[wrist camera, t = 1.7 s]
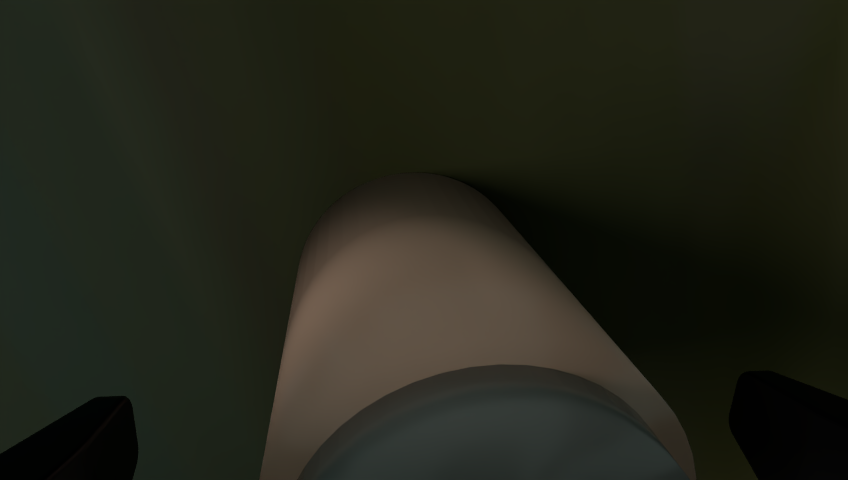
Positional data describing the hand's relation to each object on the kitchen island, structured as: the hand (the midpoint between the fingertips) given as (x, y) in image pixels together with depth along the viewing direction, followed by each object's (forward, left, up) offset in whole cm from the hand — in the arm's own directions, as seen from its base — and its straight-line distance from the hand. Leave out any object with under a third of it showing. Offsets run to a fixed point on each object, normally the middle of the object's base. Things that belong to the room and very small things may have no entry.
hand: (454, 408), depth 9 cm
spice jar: (0, 0, -5) cm, 5 cm away
